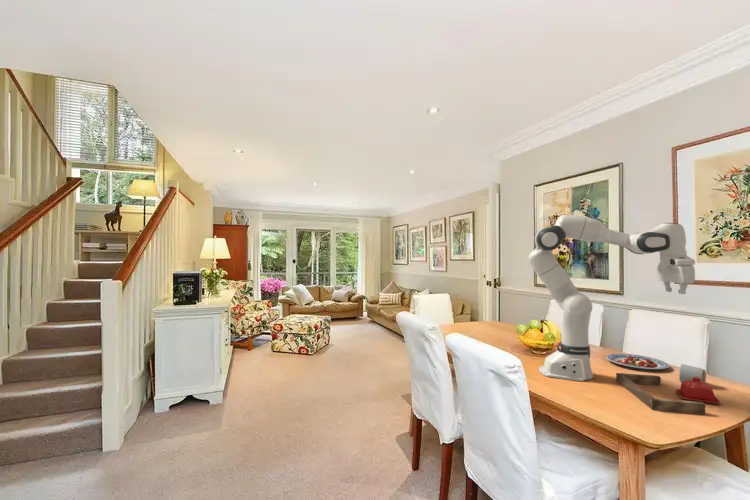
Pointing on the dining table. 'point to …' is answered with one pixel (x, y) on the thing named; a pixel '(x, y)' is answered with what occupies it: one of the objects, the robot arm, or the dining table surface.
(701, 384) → the butter dish
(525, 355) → the dining table surface
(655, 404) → the dock
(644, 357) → the ceramic plate
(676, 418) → the dining table surface
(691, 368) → the ceramic mug
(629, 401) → the dining table surface
